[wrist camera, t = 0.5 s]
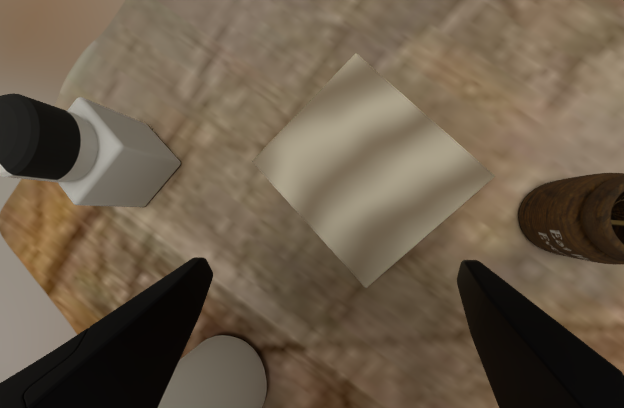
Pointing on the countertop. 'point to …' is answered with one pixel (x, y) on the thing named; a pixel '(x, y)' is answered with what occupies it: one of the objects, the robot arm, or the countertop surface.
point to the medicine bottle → (83, 151)
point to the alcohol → (217, 377)
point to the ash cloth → (369, 170)
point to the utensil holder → (578, 217)
